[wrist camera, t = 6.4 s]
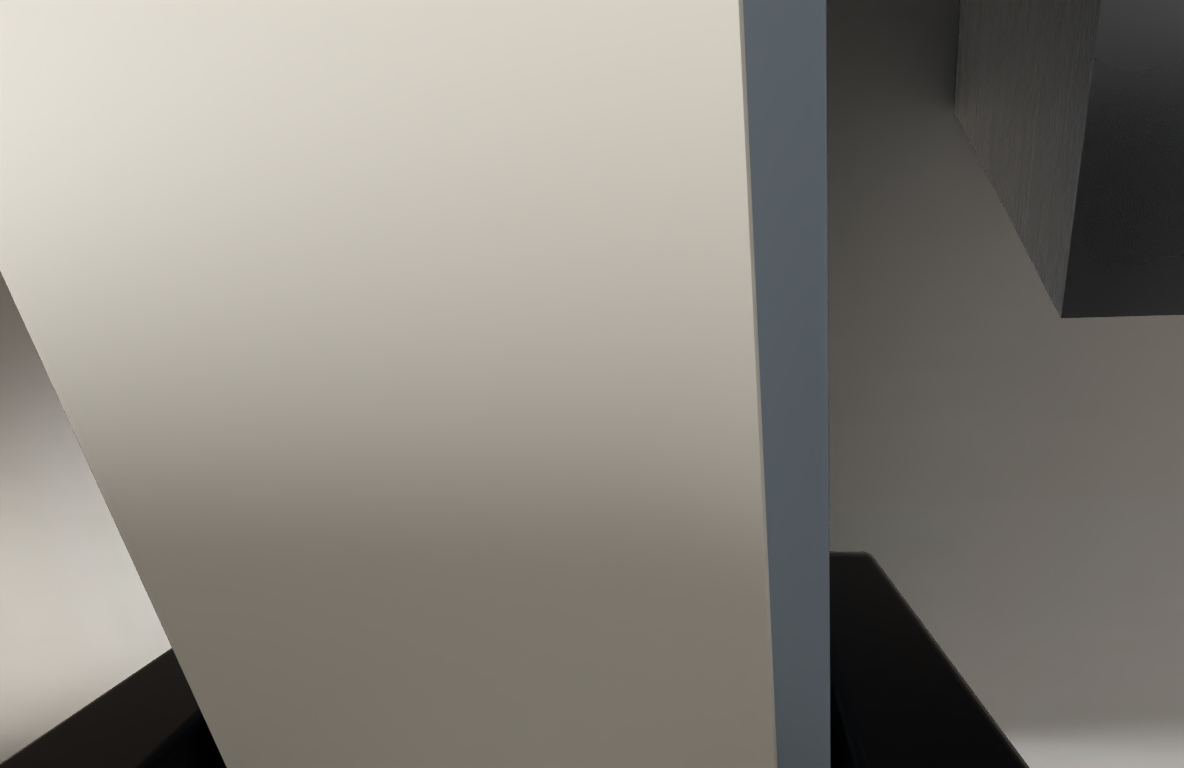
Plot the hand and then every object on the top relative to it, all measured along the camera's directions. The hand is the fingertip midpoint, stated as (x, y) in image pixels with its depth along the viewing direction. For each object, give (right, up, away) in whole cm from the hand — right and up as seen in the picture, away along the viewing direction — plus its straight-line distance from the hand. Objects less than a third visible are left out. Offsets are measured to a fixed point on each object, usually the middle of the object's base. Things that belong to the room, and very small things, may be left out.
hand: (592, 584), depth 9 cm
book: (0, +1, +2) cm, 2 cm away
